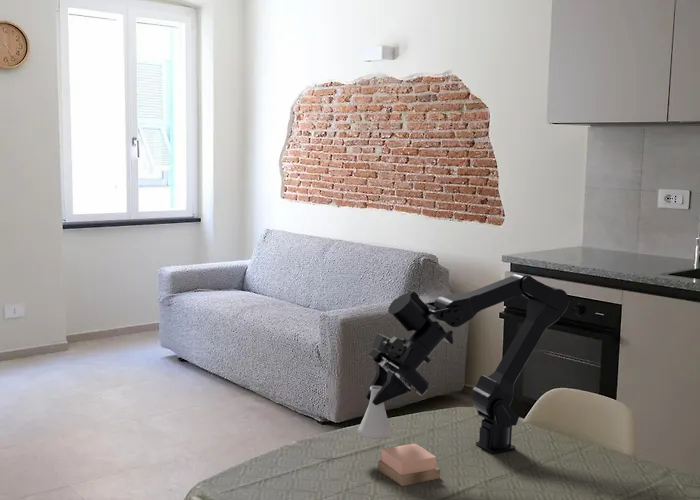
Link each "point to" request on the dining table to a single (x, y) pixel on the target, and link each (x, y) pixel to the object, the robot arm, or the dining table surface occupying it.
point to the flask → (375, 419)
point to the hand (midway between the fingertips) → (370, 401)
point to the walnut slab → (408, 475)
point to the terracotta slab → (408, 459)
